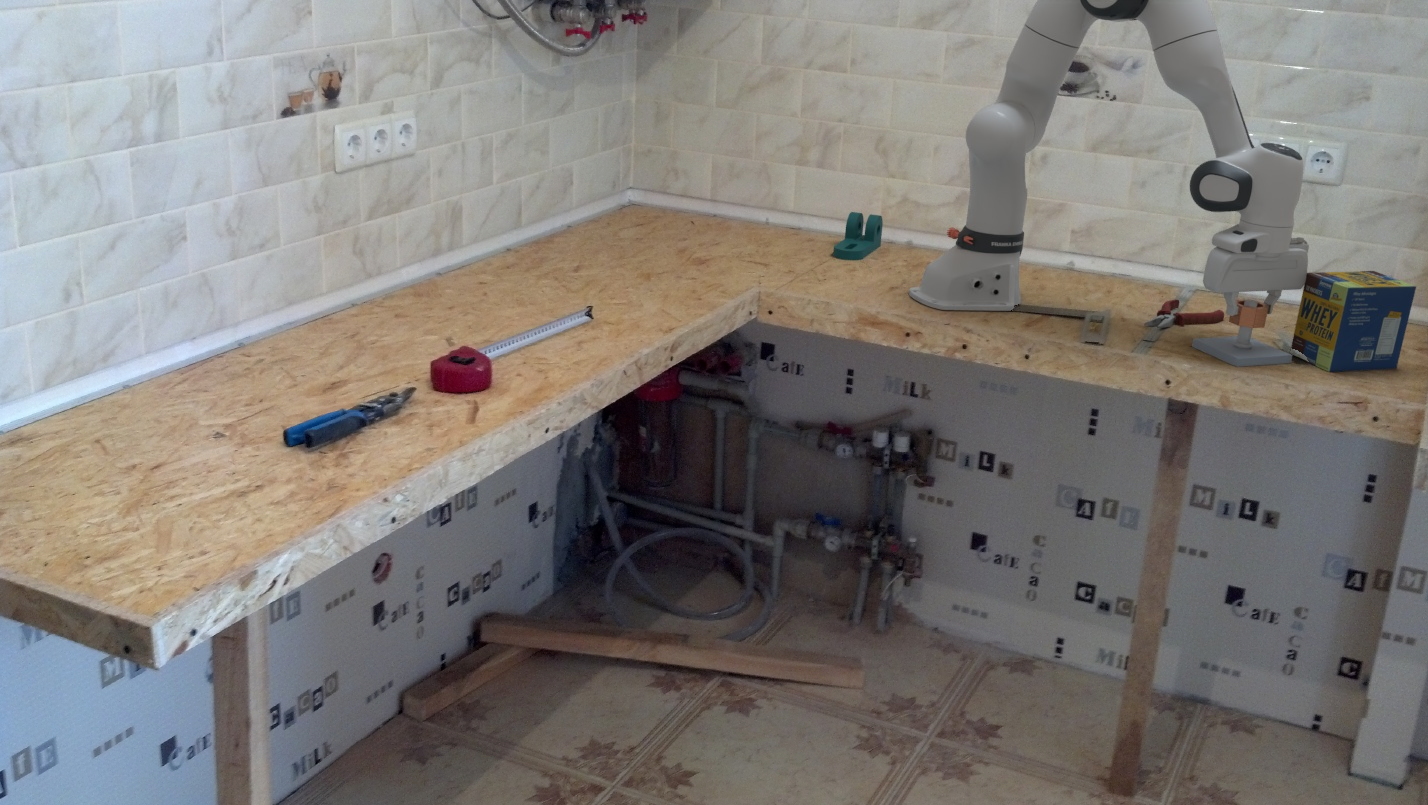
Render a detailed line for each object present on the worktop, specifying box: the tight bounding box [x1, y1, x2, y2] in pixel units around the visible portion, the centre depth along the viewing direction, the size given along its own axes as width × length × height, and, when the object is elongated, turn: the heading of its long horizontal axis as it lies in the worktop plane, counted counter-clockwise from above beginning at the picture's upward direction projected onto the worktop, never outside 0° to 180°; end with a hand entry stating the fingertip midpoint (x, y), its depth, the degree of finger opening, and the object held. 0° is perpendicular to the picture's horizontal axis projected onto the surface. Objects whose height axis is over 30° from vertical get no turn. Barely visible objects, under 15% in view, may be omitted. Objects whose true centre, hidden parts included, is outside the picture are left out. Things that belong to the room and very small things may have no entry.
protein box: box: [1290, 270, 1417, 373], centre depth 243 cm, size 10×15×16 cm
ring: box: [1228, 299, 1269, 329], centre depth 243 cm, size 6×6×4 cm
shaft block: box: [1191, 299, 1293, 368], centre depth 244 cm, size 12×12×10 cm
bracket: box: [832, 211, 883, 261], centre depth 305 cm, size 18×7×8 cm, turn 158°
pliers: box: [1143, 299, 1225, 329], centre depth 265 cm, size 11×20×3 cm, turn 136°
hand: (1248, 314), depth 243 cm, fingers closed on ring, 6 cm apart
